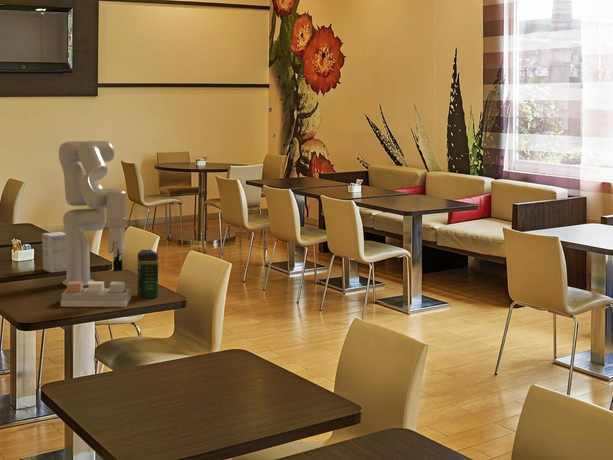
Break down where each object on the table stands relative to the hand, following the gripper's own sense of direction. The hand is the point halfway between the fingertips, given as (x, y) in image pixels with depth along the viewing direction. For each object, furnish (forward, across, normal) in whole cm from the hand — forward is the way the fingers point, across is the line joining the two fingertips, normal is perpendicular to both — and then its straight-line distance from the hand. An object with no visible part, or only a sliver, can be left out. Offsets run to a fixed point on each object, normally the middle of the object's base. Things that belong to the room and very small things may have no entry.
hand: (117, 270), depth 315 cm
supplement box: (+12, -64, -38) cm, 75 cm away
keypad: (+13, -1, -8) cm, 15 cm away
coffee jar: (+13, -13, +10) cm, 20 cm away
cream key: (+8, 0, -8) cm, 12 cm away
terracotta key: (+8, 0, -16) cm, 18 cm away
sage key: (+8, 0, 0) cm, 8 cm away
